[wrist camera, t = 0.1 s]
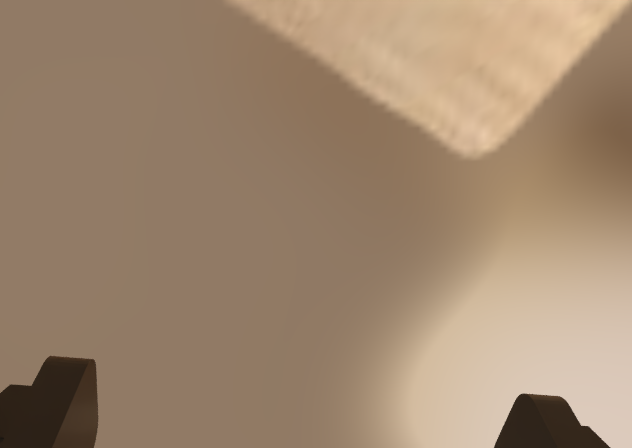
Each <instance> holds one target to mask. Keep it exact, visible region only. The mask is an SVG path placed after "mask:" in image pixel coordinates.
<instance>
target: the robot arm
mask: <svg viewBox="0 0 632 448" xmlns="http://www.w3.org/2000/svg"><path fill="white" fill-rule="evenodd" d="M97 428H98V403H97V379H96V364H95V360H93V359H83V358H69V357H56V356H49V357H48V358H47V359H46V360H45V362H44V363H43V365H42V367H41V369H40V371H39V373H38V375H37V377H36V378H35V380H34V382H33V384H32V386H24V385H10V386H8V387H7V388H6V389H5V390H3V391H2V392H1V393H0V448H94V445H95V440H96V435H97ZM494 448H610V447H609V446H608V445H607V444H606V443H605V442H604V441H603V440H602V439H601V438H600V437H599V436H598V435H597V434H596V433H595V432H594V431H592V430H591V428H590V427H588V426H581V425H580V423H579V421H578V420H577V418H576V416H575V415H574V413H573V411H572V409H571V408H570V406H569V404H568V403H567V402H566V400H564V399H563V398H562V397H559V396H547V395H534V394H521V395H519V396H518V397H517V399H516V400H515V402H514V404H513V407H512V409H511V411H510V413H509V415H508V417H507V420H506V422H505V424H504V426H503V428H502V430H501V433H500V435H499V437H498V439H497V442H496V444H495V447H494Z"/></svg>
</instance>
